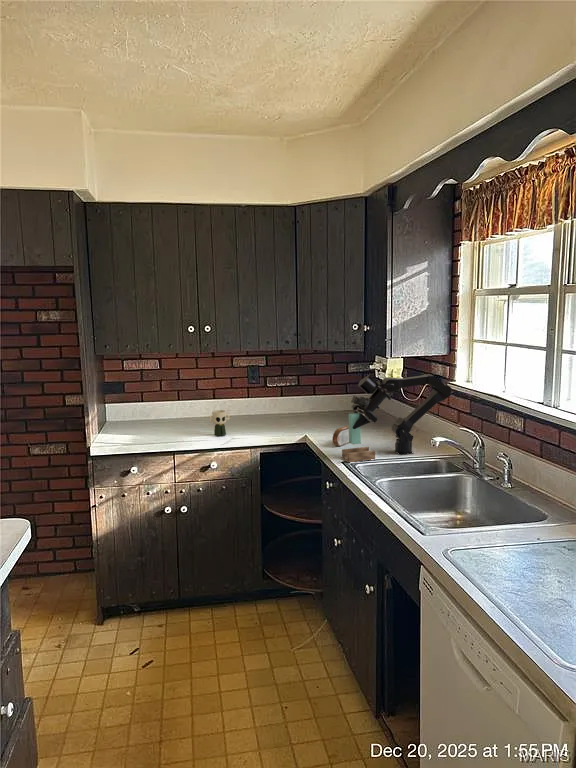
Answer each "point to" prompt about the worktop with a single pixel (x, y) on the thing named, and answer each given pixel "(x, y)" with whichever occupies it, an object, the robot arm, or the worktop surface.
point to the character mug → (219, 421)
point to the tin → (341, 436)
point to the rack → (357, 454)
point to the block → (354, 433)
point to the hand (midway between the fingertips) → (351, 427)
